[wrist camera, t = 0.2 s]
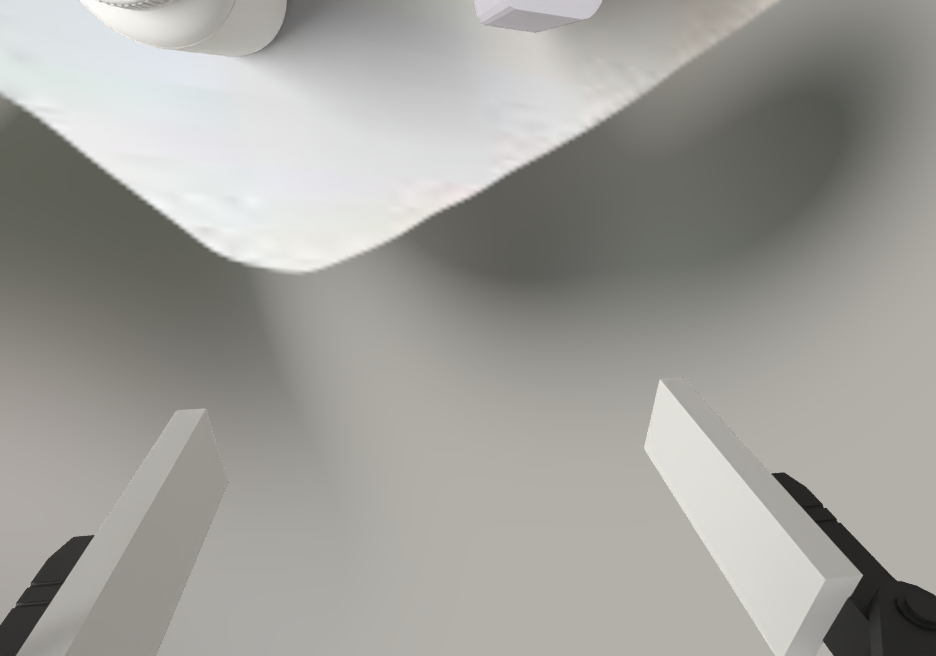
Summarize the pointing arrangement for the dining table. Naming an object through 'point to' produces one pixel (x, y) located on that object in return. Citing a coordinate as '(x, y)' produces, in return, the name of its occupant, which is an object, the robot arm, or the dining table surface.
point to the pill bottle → (195, 23)
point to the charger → (534, 13)
